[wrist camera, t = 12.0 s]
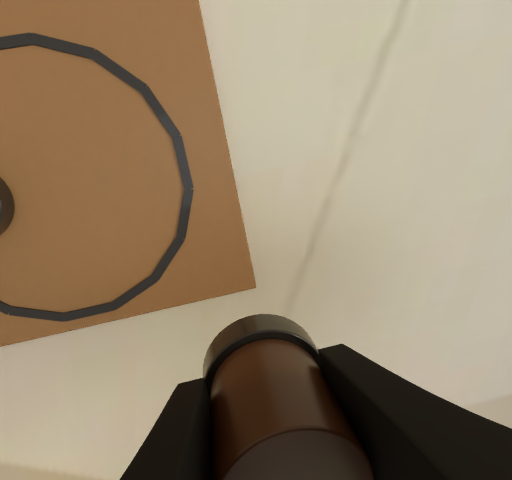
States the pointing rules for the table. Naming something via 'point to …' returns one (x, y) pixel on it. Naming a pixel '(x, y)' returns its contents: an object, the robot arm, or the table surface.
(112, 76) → the sheet
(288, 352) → the cylinder
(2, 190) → the cylinder
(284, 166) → the table surface
